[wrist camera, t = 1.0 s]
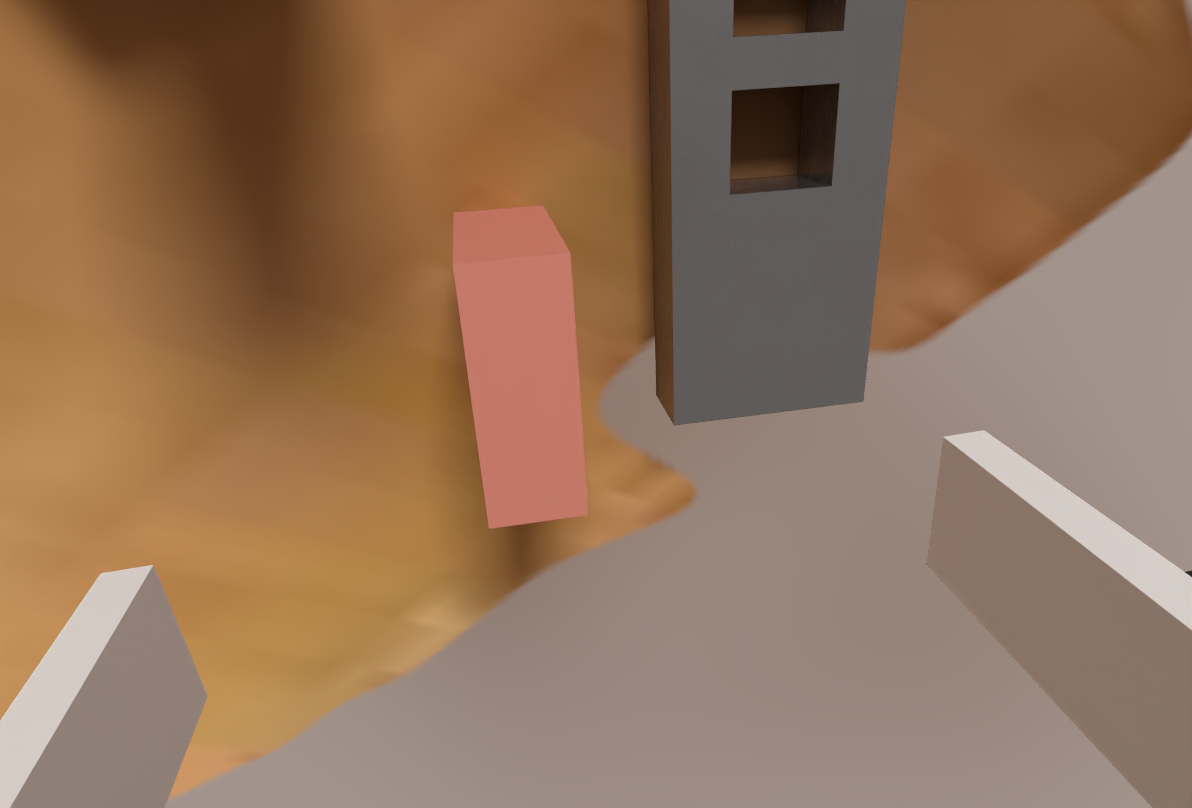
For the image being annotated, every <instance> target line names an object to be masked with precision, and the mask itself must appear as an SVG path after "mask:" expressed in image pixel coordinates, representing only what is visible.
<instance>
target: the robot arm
mask: <svg viewBox="0 0 1192 808" xmlns="http://www.w3.org/2000/svg"><path fill="white" fill-rule="evenodd" d="M927 565H928V566H929V567H930V568H931V570H932V571H933V572H934V573H935V574H936V575H937V576H938V577H939V578H940V579H941V580H942V582H943V583H944V584H945V585H946V586H947V587H948V588H949V589H950V590H951V591H952V592H953V593H954V594H955V595H956V596H957V598H958V599H959V600H960V601H961V602H962V603H963V604H964V605H965V606H966V607H967V608H968V609H969V611H970V612H972V614H973V615H974V616H975V617H976V618H977V619H978V620H979V621H980V622H981V624H982V625H984V627H985V628H986V629H987V630H988V631H989V632H990V633H991V634H992V635H993V636H994V637H995V638H996V639H997V641H998V642H999V643H1000V644H1001V645H1002V646H1003V647H1004V648H1005V649H1006V650H1007V651H1008V652H1009V654H1010V655H1011V656H1012V657H1013V658H1014V659H1015V660H1016V661H1017V662H1018V663H1019V664H1020V666H1022V668H1023V669H1024V670H1025V671H1026V672H1027V673H1028V674H1029V675H1030V676H1031V677H1032V678H1033V679H1034V681H1035V682H1036V683H1037V684H1038V685H1039V686H1040V687H1041V688H1042V689H1043V690H1044V691H1045V692H1046V693H1047V695H1048V696H1049V697H1050V698H1051V699H1052V700H1053V701H1054V702H1055V703H1056V704H1057V705H1058V706H1059V707H1060V708H1061V710H1062V711H1063V712H1064V713H1065V714H1066V715H1067V716H1068V717H1069V718H1070V719H1071V720H1072V721H1073V722H1074V724H1075V725H1076V726H1077V727H1078V728H1079V729H1080V730H1081V731H1082V732H1083V733H1084V734H1085V735H1086V737H1087V738H1089V740H1090V741H1091V742H1092V743H1093V744H1094V745H1095V746H1096V747H1097V748H1098V749H1099V751H1100V752H1101V753H1102V754H1103V755H1104V756H1105V757H1106V758H1107V759H1108V760H1109V761H1110V762H1111V763H1112V764H1113V765H1114V767H1115V768H1116V769H1117V770H1118V771H1119V772H1120V773H1121V774H1122V775H1123V776H1124V777H1125V778H1126V780H1127V781H1128V782H1129V783H1130V784H1131V785H1132V786H1133V787H1134V788H1135V789H1136V790H1137V791H1138V793H1139V794H1140V795H1141V796H1142V797H1143V798H1144V799H1145V800H1146V801H1147V802H1148V803H1149V804H1150V805H1151V806H1152V808H1192V571H1187V572H1184V571H1182V570H1181V569H1179V568H1178V567H1177V566H1175V565H1174V564H1172V563H1171V562H1169V561H1168V560H1167V559H1165V558H1164V557H1162V556H1161V555H1160V554H1158V553H1157V552H1155V551H1154V550H1152V549H1151V548H1150V547H1148V546H1147V545H1145V544H1144V543H1143V542H1141V541H1140V540H1138V539H1137V538H1135V537H1134V536H1133V535H1131V534H1130V533H1128V532H1127V531H1125V530H1124V529H1123V528H1121V527H1120V526H1119V525H1117V524H1116V523H1114V522H1113V521H1111V520H1110V519H1109V518H1107V517H1106V516H1104V515H1103V514H1101V513H1100V512H1099V511H1097V510H1096V509H1094V508H1093V507H1092V506H1090V505H1089V504H1087V503H1086V502H1084V501H1083V500H1082V499H1080V498H1079V497H1077V496H1076V495H1075V494H1073V493H1072V492H1070V491H1069V490H1068V489H1066V488H1065V487H1063V486H1062V485H1060V484H1059V483H1057V482H1056V481H1055V480H1053V479H1052V478H1051V477H1049V476H1048V475H1046V474H1045V473H1043V472H1042V471H1041V470H1039V469H1038V468H1036V467H1035V466H1034V465H1032V464H1031V463H1029V462H1028V461H1027V460H1025V459H1024V458H1022V457H1021V456H1019V455H1018V454H1016V453H1015V452H1014V451H1012V450H1011V449H1010V448H1008V447H1007V446H1005V445H1004V444H1002V443H1001V442H1000V441H998V440H997V439H995V438H994V437H993V436H991V435H990V434H988V433H987V432H986V431H977V432H971V433H965V434H959V435H953V436H946V437H943V445H942V453H941V460H940V467H939V476H938V483H937V491H936V497H935V505H934V513H933V520H932V528H931V535H930V543H929V550H928V558H927ZM206 699H207V694H206V691H205V689H204V686H203V684H202V681H201V679H200V677H199V674H198V672H197V669H196V667H195V665H194V662H193V660H192V657H191V655H190V652H189V650H188V648H187V645H186V643H185V640H184V638H183V635H182V633H181V631H180V628H179V626H178V623H177V621H176V619H175V616H174V614H173V611H172V609H171V606H170V604H169V602H168V599H167V597H166V594H165V592H164V590H163V587H162V585H161V582H160V580H159V577H158V575H157V573H156V570H155V568H154V565H150V566H144V567H138V568H131V569H125V570H119V571H113V572H107V573H101V574H100V575H99V577H98V578H97V580H96V581H95V583H94V584H93V585H92V587H91V588H90V590H89V591H88V593H87V594H86V596H85V597H84V599H83V600H82V602H81V603H80V605H79V606H78V607H77V609H76V610H75V612H74V613H73V615H72V616H71V618H70V619H69V621H68V622H67V624H66V625H65V627H64V628H63V629H62V631H61V632H60V634H59V635H58V637H57V638H56V640H55V641H54V643H53V644H52V646H51V647H50V648H49V650H48V651H47V653H46V654H45V656H44V657H43V659H42V660H41V662H40V663H39V665H38V666H37V668H36V669H35V670H34V672H33V673H32V675H31V676H30V678H29V679H28V681H27V682H26V684H25V685H24V687H23V688H22V689H21V691H20V692H19V694H18V695H17V697H16V698H15V700H14V701H13V703H12V704H11V706H10V707H9V709H8V710H7V711H6V713H5V714H4V716H3V717H2V719H1V720H0V808H165V805H166V802H167V800H168V797H169V795H170V792H171V789H172V787H173V784H174V782H175V779H176V776H177V774H178V771H179V769H180V766H181V763H182V761H183V758H184V756H185V753H186V751H187V748H188V745H189V743H190V740H191V738H192V735H193V732H194V730H195V727H196V725H197V722H198V719H199V717H200V714H201V712H202V709H203V706H204V704H205V701H206Z"/></svg>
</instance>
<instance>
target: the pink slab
mask: <svg viewBox="0 0 1192 808" xmlns="http://www.w3.org/2000/svg"><path fill="white" fill-rule="evenodd" d="M453 271H454V278H455V285H456V293H457V300H458V307H459V315H460V322H461V329H462V336H463V344H464V351H465V358H466V366H467V373H468V380H469V387H470V395H471V402H472V409H473V417H474V424H475V431H476V438H477V446H478V453H479V460H480V468H481V475H482V482H483V489H484V497H485V504H486V511H487V519H488V526H489V529H492V528H499V527H507V526H514V525H521V524H528V523H535V522H542V521H550V520H557V519H564V518H571V517H578V516H586V515H589V513H588V499H587V484H586V470H585V455H584V441H583V427H582V412H581V398H580V383H579V369H578V354H577V340H576V325H575V311H574V296H573V282H572V268H571V253H570V251H569V250H568V248H567V246H566V244H565V243H564V241H563V239H562V237H561V236H560V234H559V232H558V231H557V229H556V227H555V225H554V224H553V222H552V220H551V218H550V217H549V215H548V213H547V211H546V210H545V208H544V206H543V205H538V206H526V207H515V208H503V209H491V210H480V211H468V212H456V213H454V224H453Z"/></svg>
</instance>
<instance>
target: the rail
mask: <svg viewBox="0 0 1192 808" xmlns="http://www.w3.org/2000/svg"><path fill="white" fill-rule="evenodd" d="M905 6H906V0H808V11H807V28H806V33H796V34H779V35H762V36H745V37H733V13H734V0H648V35H649V81H650V126H651V172H652V218H653V263H654V309H655V352H656V353H655V354H656V395H657V397H658V398H659V400H660V402H661V404H662V405H663V407H664V408H665V410H666V412H667V414H668V415H669V417H670V419H671V421H672V422H673V424H674V425H680V424H688V423H696V422H704V421H712V420H720V419H728V418H735V417H744V416H752V415H760V414H768V413H776V412H784V411H792V410H800V409H808V408H816V407H824V406H831V405H840V404H848V403H855V402H863V399H864V390H865V380H866V370H867V362H868V352H869V343H870V333H871V324H872V315H873V305H874V296H875V287H876V277H877V268H878V259H879V249H880V240H881V230H882V221H883V212H884V202H885V193H886V184H887V174H888V165H889V156H890V146H891V137H892V127H893V118H894V109H895V99H896V90H897V81H898V71H899V62H900V53H901V43H902V34H903V24H904V15H905ZM792 86H803V97H802V114H801V131H800V149H799V166H798V175H786V176H774V177H762V178H750V179H738V180H730V156H731V108H732V91H734V90H748V89H763V88H777V87H792Z"/></svg>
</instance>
